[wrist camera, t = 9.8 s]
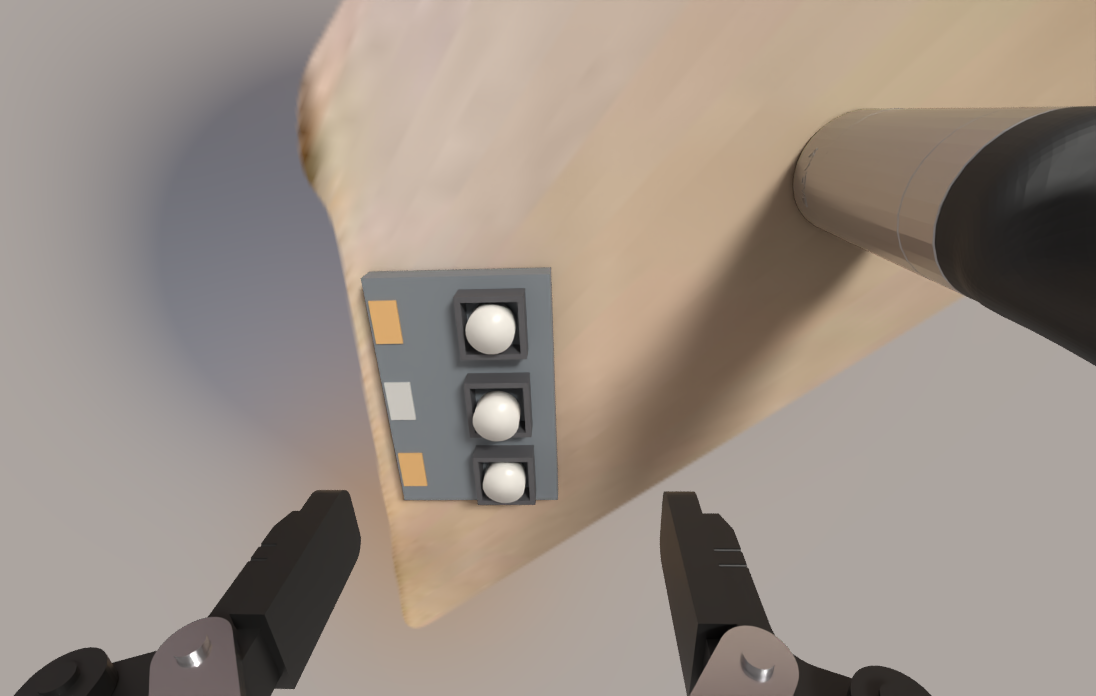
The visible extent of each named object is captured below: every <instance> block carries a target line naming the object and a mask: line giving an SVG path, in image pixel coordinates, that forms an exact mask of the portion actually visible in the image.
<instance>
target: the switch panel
mask: <svg viewBox="0 0 1096 696" xmlns="http://www.w3.org/2000/svg"><path fill="white" fill-rule="evenodd" d="M361 282H362V287H363V292H364V297H365V302H366V307H367V312H368V317H369V322H370V327H371V332H372V337H373V342H374V347H375V352H376V357H377V363H378V368H379V373H380V378H381V383H382V388H383V393H384V398H385V403H386V408H387V413H388V418H389V423H390V428H391V433H392V438H393V443H394V449H395V454H396V459H397V464H398V469H399V474H400V479H401V484H402V489H403V494H404V499H405V500H477V501H478V505H535V503H536V500H558V467H557V437H556V406H555V376H554V345H553V314H552V284H551V267H550V268H507V269H464V270H422V271H379V272H368V273H367V274H366V275H365V276H363V277H362V278H361ZM485 302H500V303H502V304H504V305H506V306H507V307H509V308H510V309H511V311H512V312H513V314H514V316H515V318H516V330H515V334H514V338H513V341H512V343H511V345H510V346H509V347H508V348H507V349H506V350H505V351H503V352H501V353H498V354H485V353H481V352H479V351H477V350H476V349H475V348H473V347H472V346H471V344H470V343H469V342H468V340H467V337H466V331H465V330H466V324H467V322H468V320H469V317H470V315H471V313H472V311H473V310H474V309H475V308H476V307H477V306H478V305H479V304H481V303H485ZM491 391H503V392H507V393H509V394H511V395H512V396H513V397H515V398H516V400H517V401H518V403H519V405H520V409H521V413H520V419H519V426H518V429H517V431H516V433H515V434H514V435H513V436H512V437H511V438H509V439H507V440H504V441H490V440H487V439H485V438H483V437H482V436H480V435H479V434H478V433H477V432H476V430H475V428H474V426H473V416H474V412H475V409H476V406H477V403H478V401H479V399H480V398H481V397H482V396H483V395H484V394H486V393H488V392H491ZM490 462H521V463H522V465H523V466H524V467H525V470H526V481H525V489H524V493H523V495H522V496H521V497H520V498H519V499H518V500H516V501H514V502H511V503H499V502H496V501H494V500H492V499H490V498H489V497H488V496H487V495H486V494H485V492H484V490H483V481H484V476H485V472H486V468H487V466H488V464H489V463H490Z"/></svg>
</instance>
